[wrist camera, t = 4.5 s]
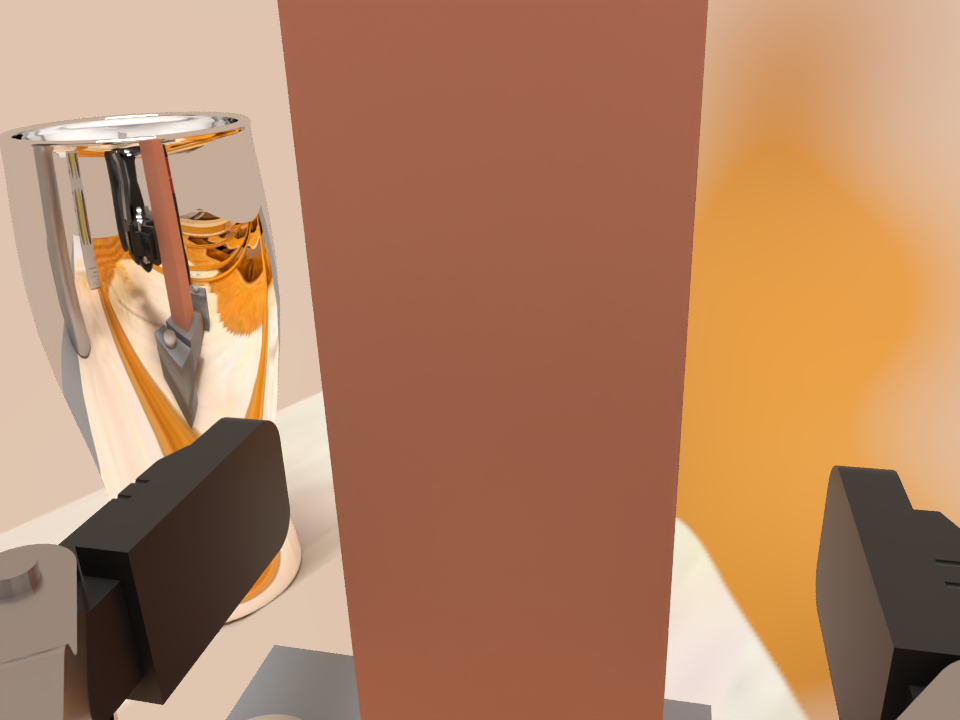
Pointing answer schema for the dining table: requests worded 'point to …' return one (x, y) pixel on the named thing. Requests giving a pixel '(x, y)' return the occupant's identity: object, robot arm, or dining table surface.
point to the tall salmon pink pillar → (502, 340)
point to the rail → (301, 688)
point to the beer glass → (151, 285)
